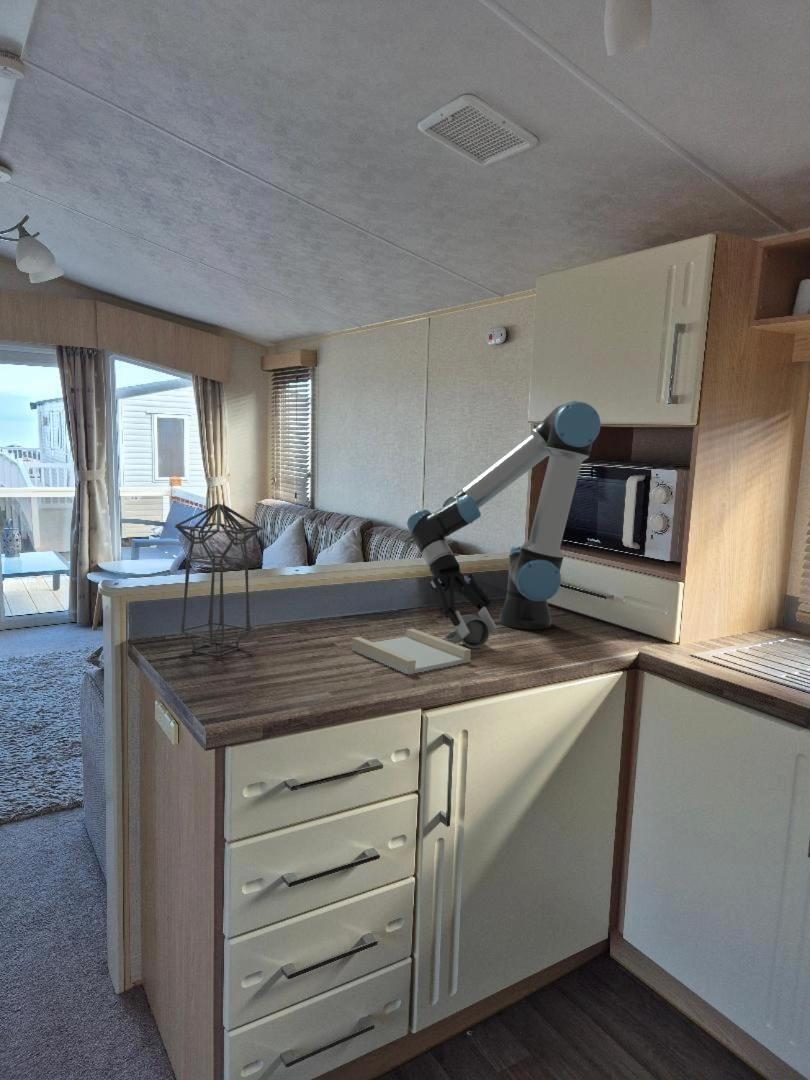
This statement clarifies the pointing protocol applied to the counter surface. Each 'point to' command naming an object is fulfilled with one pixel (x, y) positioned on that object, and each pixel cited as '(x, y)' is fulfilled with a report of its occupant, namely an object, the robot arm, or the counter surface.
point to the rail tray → (413, 652)
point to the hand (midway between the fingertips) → (479, 633)
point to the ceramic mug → (471, 632)
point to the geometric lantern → (227, 532)
